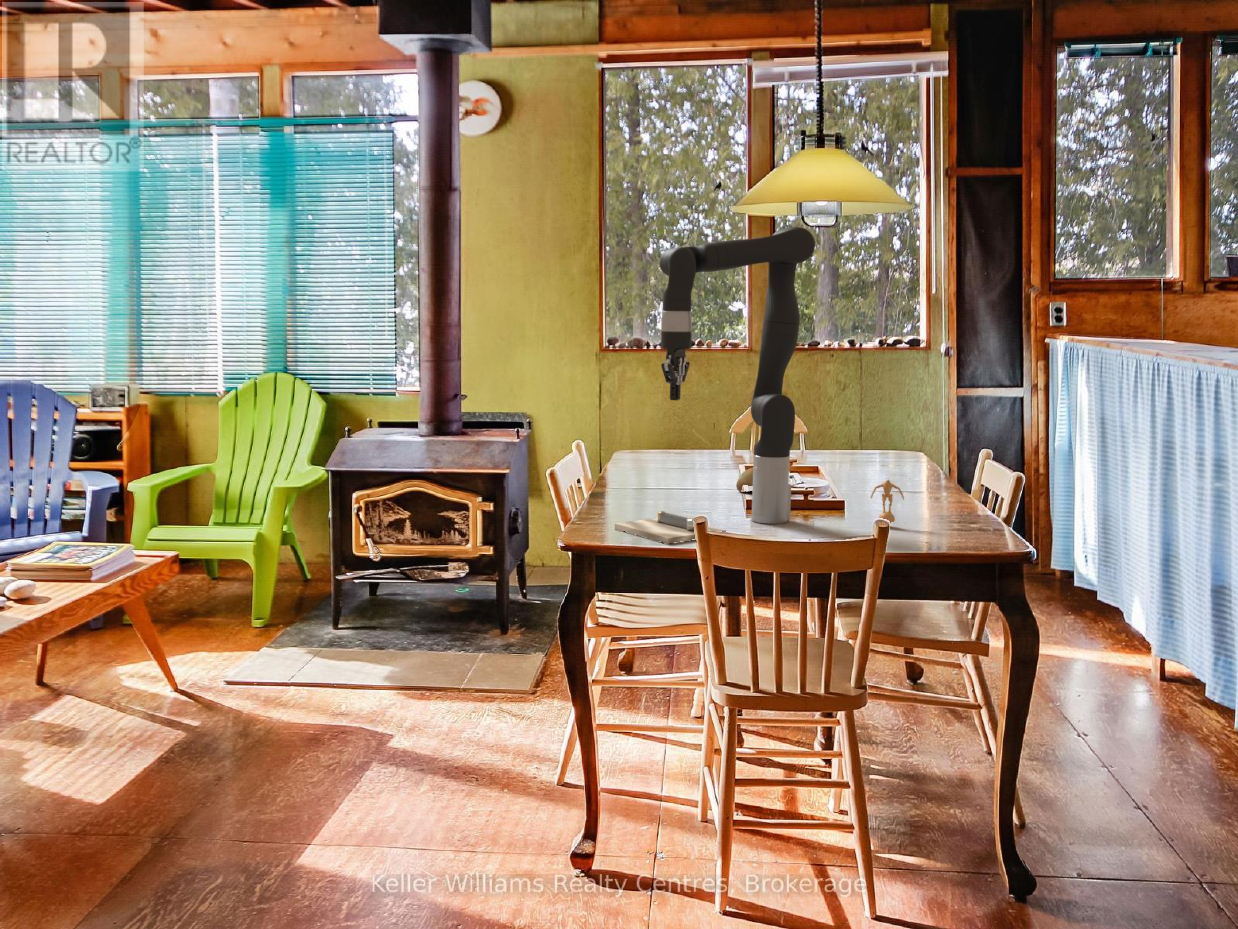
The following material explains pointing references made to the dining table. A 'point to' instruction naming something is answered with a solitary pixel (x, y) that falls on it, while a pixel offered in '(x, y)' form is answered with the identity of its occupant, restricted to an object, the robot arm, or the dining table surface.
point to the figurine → (887, 489)
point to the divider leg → (675, 520)
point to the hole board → (659, 530)
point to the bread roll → (745, 479)
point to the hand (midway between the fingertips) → (675, 399)
